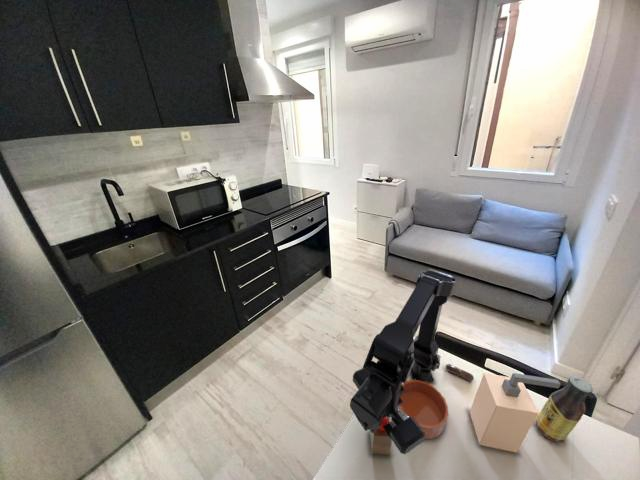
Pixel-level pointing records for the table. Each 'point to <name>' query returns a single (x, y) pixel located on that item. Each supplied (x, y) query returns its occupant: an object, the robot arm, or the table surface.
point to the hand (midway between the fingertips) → (382, 424)
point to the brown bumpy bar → (459, 372)
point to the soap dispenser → (505, 409)
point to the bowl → (424, 407)
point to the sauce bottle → (564, 409)
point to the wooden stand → (380, 442)
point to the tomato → (383, 423)
